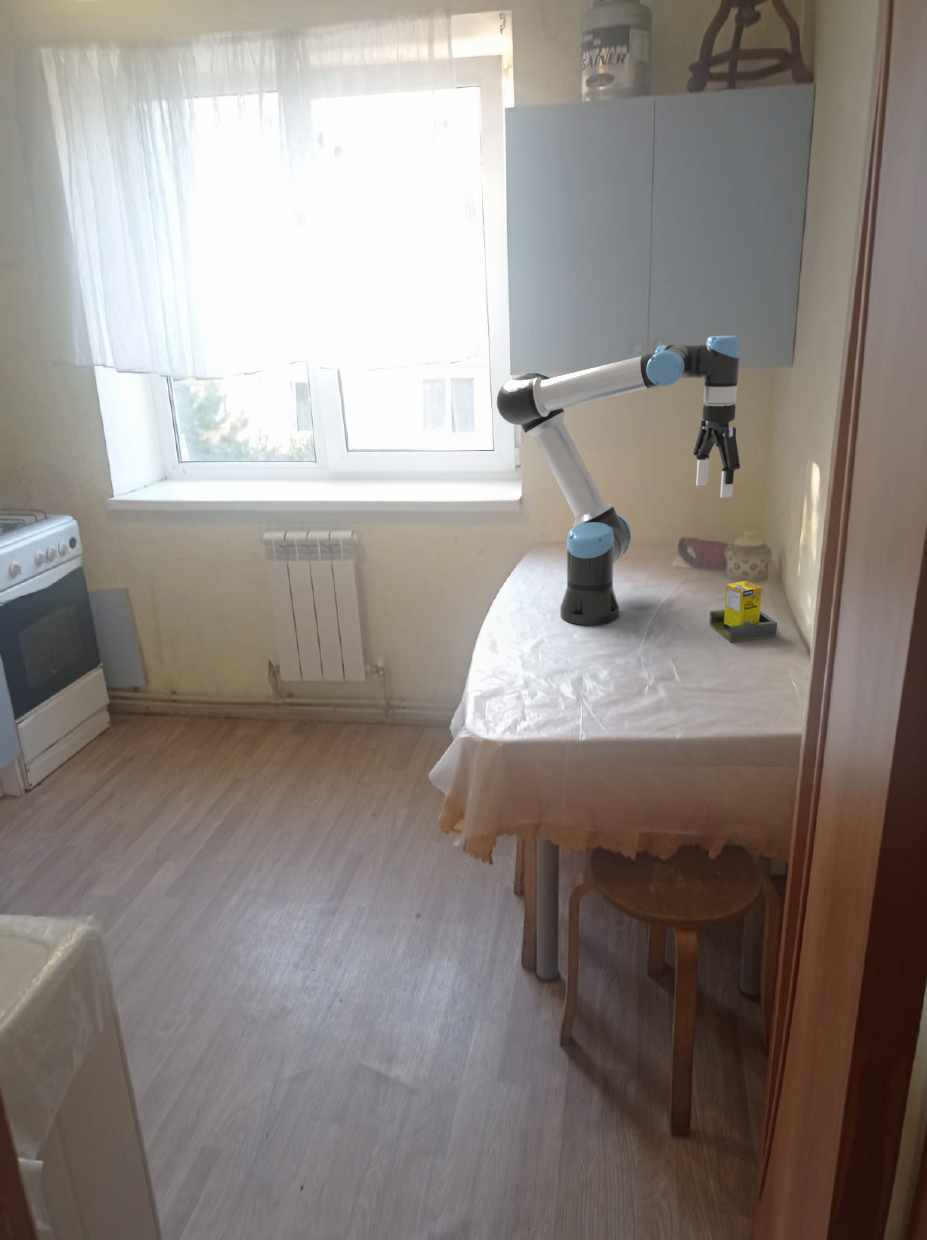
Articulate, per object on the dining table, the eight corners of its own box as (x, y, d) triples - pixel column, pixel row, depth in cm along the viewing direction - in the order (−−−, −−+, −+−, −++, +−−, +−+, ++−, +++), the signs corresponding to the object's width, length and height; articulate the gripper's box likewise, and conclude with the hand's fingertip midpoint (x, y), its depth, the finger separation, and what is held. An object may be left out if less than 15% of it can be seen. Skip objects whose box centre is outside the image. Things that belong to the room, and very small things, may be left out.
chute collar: (709, 625, 219) (710, 611, 218) (752, 620, 221) (753, 606, 220) (730, 642, 209) (731, 627, 207) (775, 637, 210) (777, 622, 209)
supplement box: (759, 629, 213) (762, 586, 209) (739, 634, 211) (742, 591, 207) (742, 621, 219) (745, 580, 215) (723, 626, 216) (726, 584, 212)
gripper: (759, 409, 200) (752, 501, 207) (711, 396, 222) (705, 479, 230) (728, 411, 198) (722, 503, 206) (683, 398, 221) (678, 481, 229)
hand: (713, 491), depth 218 cm, fingers open, 13 cm apart
